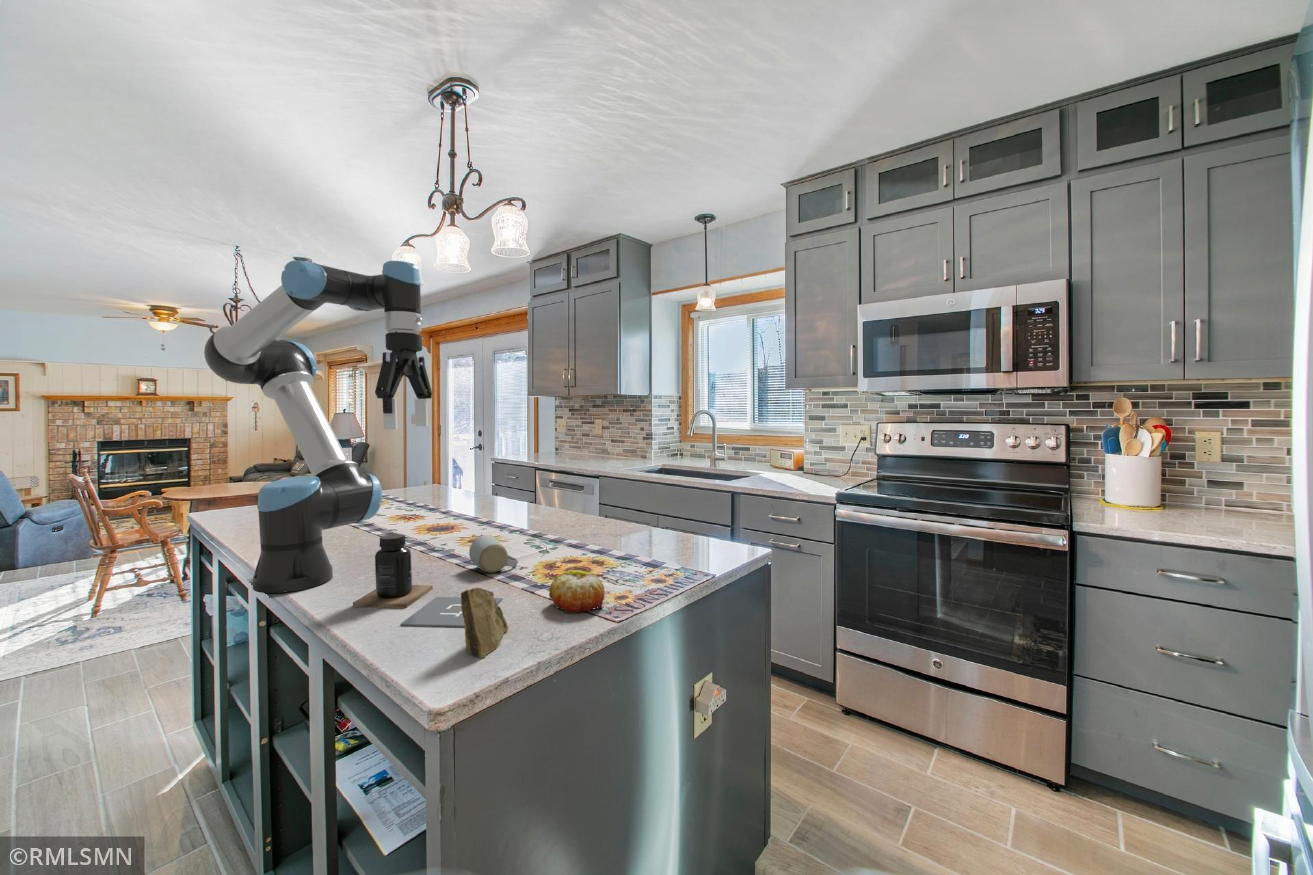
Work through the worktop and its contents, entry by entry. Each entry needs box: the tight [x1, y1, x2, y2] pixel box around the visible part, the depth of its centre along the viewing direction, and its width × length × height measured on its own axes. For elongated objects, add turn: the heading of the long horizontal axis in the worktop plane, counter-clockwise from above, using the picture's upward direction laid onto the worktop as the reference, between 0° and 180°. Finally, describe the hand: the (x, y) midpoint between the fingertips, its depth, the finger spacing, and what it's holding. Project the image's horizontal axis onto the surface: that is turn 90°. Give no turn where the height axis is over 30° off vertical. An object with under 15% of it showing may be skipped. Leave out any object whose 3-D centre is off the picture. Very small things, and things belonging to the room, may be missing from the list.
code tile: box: [400, 596, 504, 628], centre depth 107 cm, size 14×14×1 cm
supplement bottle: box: [374, 533, 413, 598], centre depth 115 cm, size 7×7×12 cm
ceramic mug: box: [468, 535, 519, 574], centre depth 135 cm, size 11×8×8 cm
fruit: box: [548, 569, 606, 614], centre depth 111 cm, size 11×10×8 cm
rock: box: [460, 587, 509, 659], centre depth 94 cm, size 11×9×10 cm
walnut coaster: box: [352, 584, 433, 609], centre depth 115 cm, size 11×11×1 cm
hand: (407, 427), depth 126 cm, fingers open, 13 cm apart
